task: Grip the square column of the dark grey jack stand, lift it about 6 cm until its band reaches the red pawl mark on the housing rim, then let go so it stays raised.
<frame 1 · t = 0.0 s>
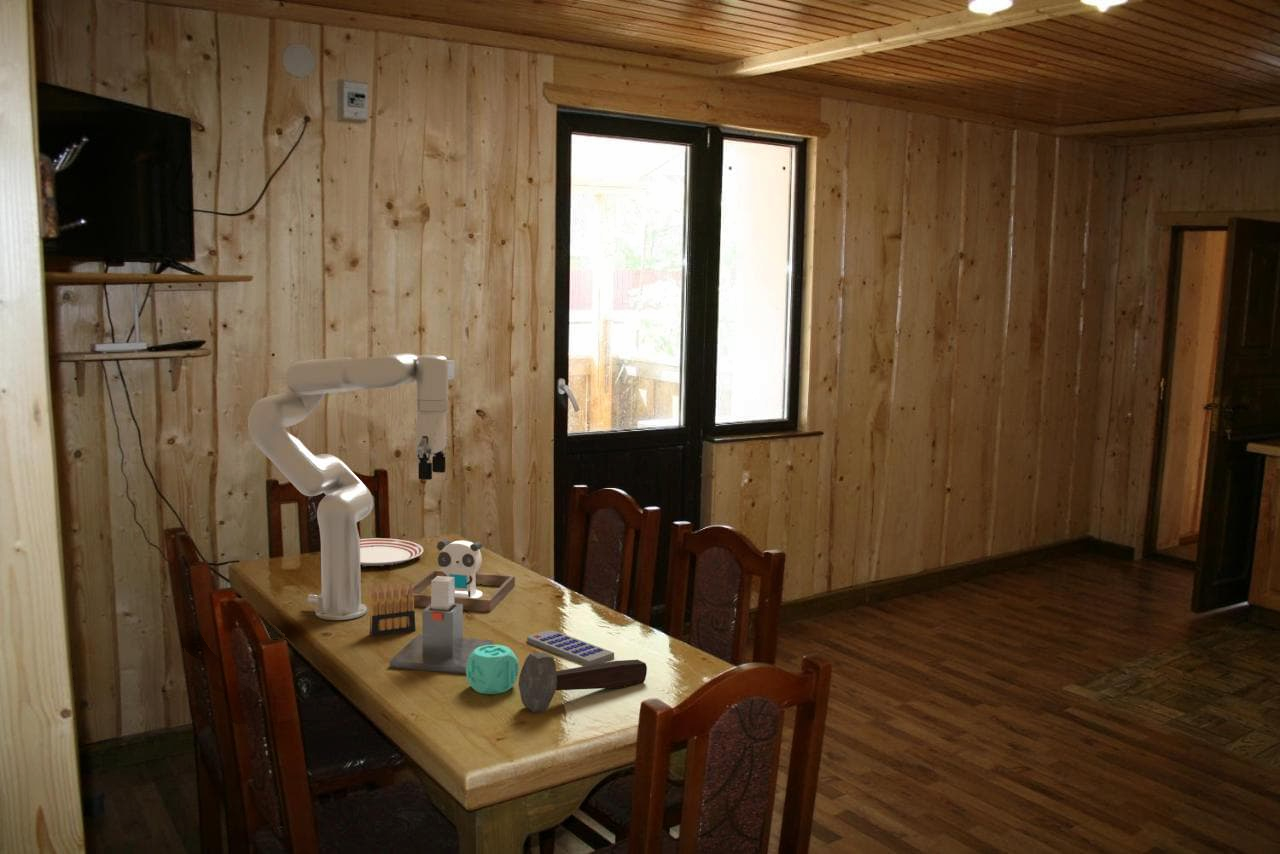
hand: (432, 475, 258), 37 cm above the table, tool pointing down, fingers open, 9 cm apart
hammer: (585, 697, 218), on the table
column: (442, 614, 237), point 10 cm above the table, slide at 0.0 cm
dinner plate: (377, 560, 319), on the table
ammunition clip: (392, 633, 253), on the table
panda figurine: (460, 595, 285), resting in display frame
remote control: (569, 652, 245), on the table
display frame: (460, 595, 285), on the table
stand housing: (442, 656, 238), on the table
decorative dice: (492, 688, 221), on the table
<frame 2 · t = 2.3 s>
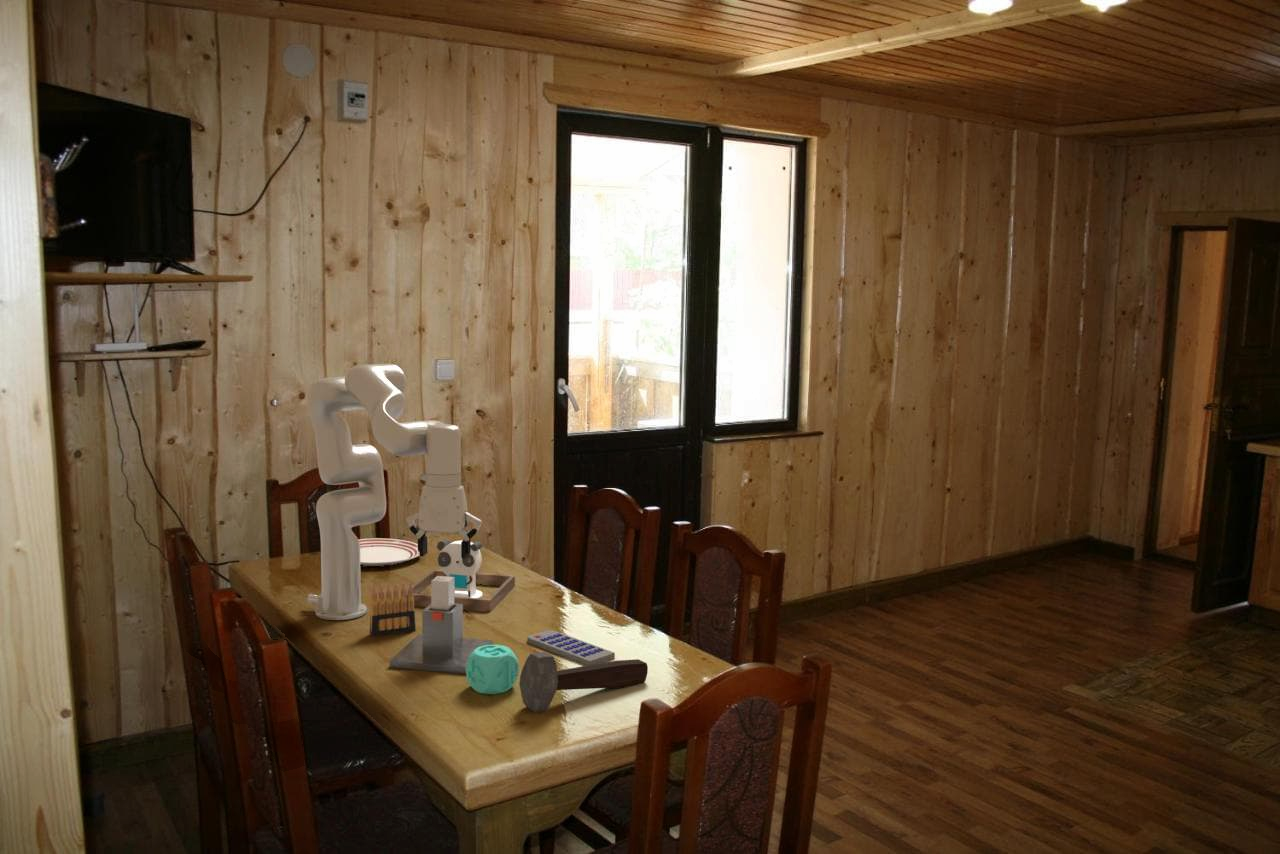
hand: (444, 556, 235), 23 cm above the table, tool pointing down, fingers open, 9 cm apart
nothing on the table moved.
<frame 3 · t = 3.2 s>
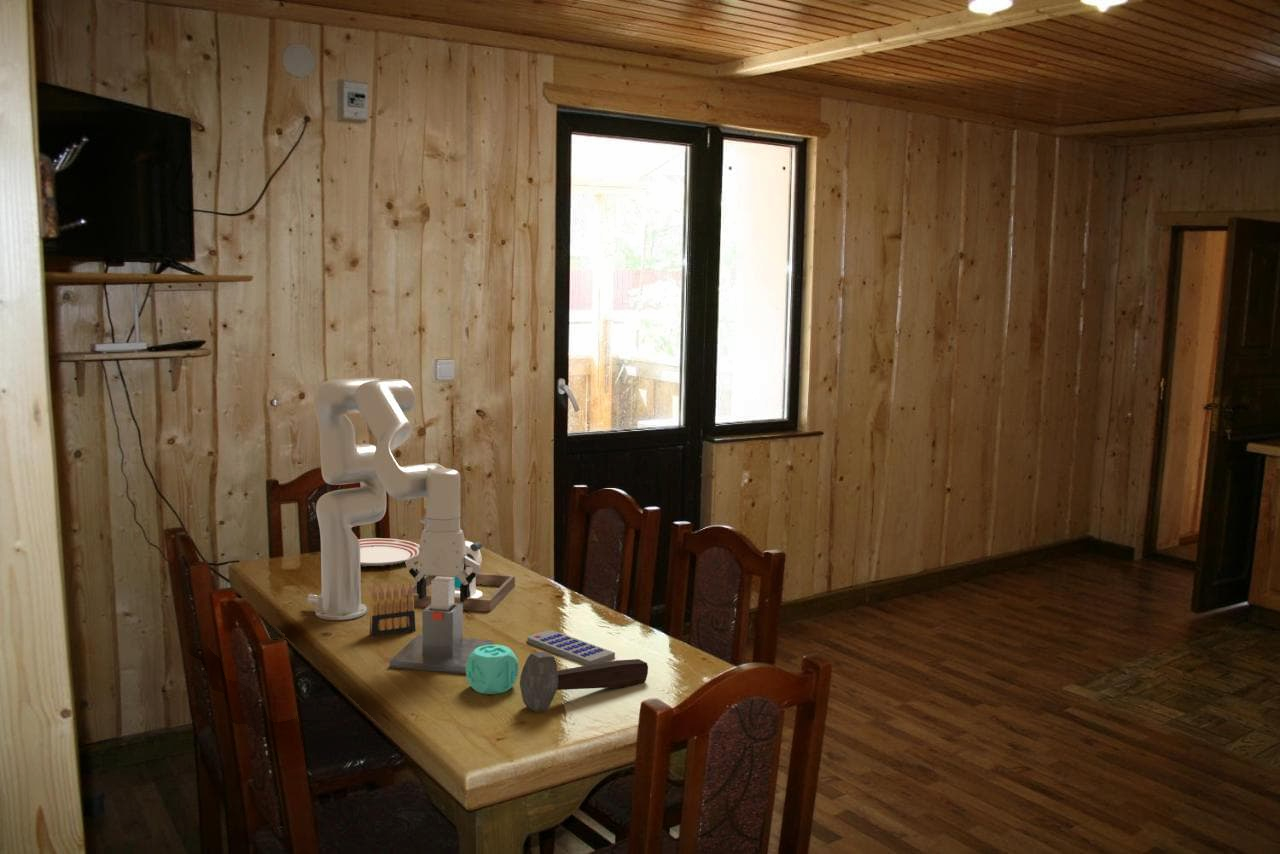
hand: (443, 599, 236), 13 cm above the table, tool pointing down, fingers open, 9 cm apart
nothing on the table moved.
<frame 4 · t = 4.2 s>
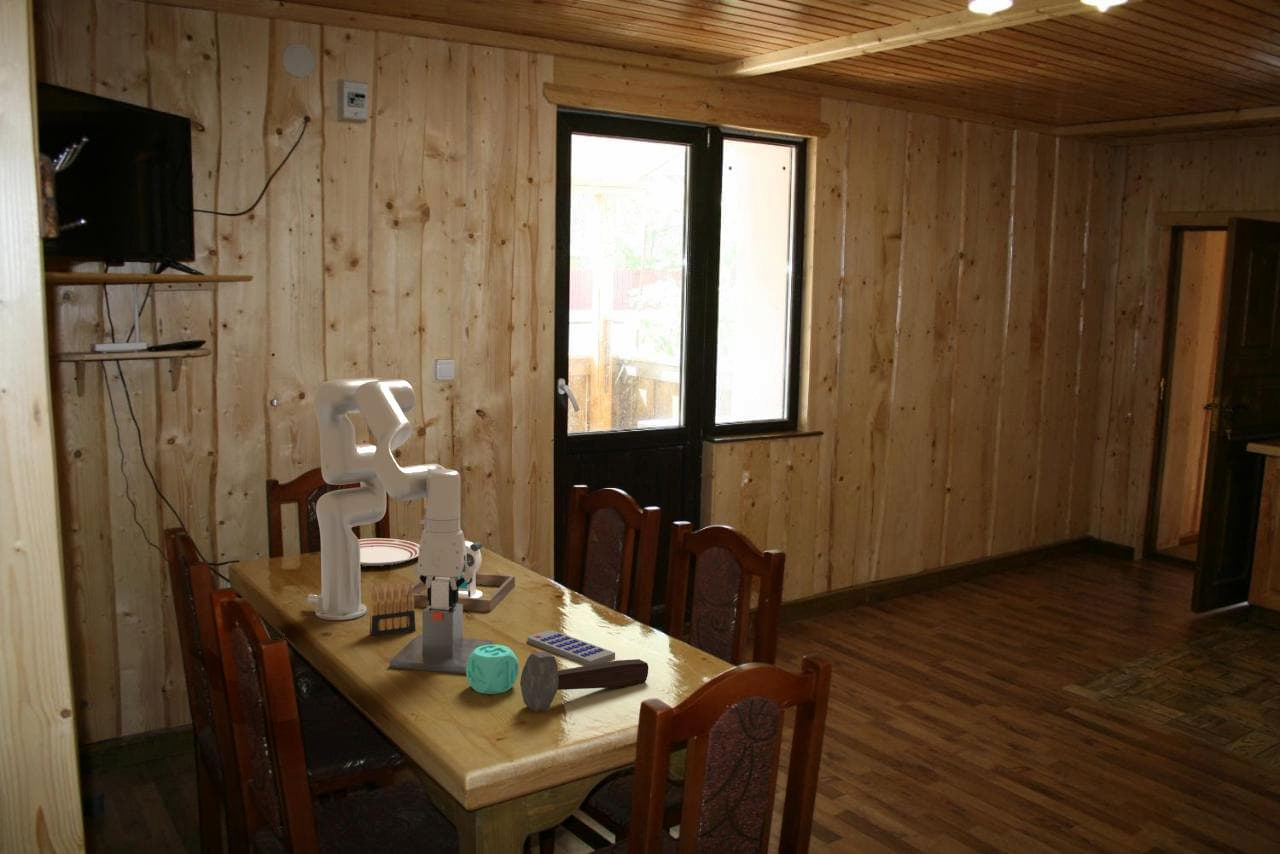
hand: (442, 603, 236), 12 cm above the table, tool pointing down, fingers closed on column, 4 cm apart
column: (442, 614, 237), point 10 cm above the table, slide at 0.0 cm, touching gripper
everything else where it was.
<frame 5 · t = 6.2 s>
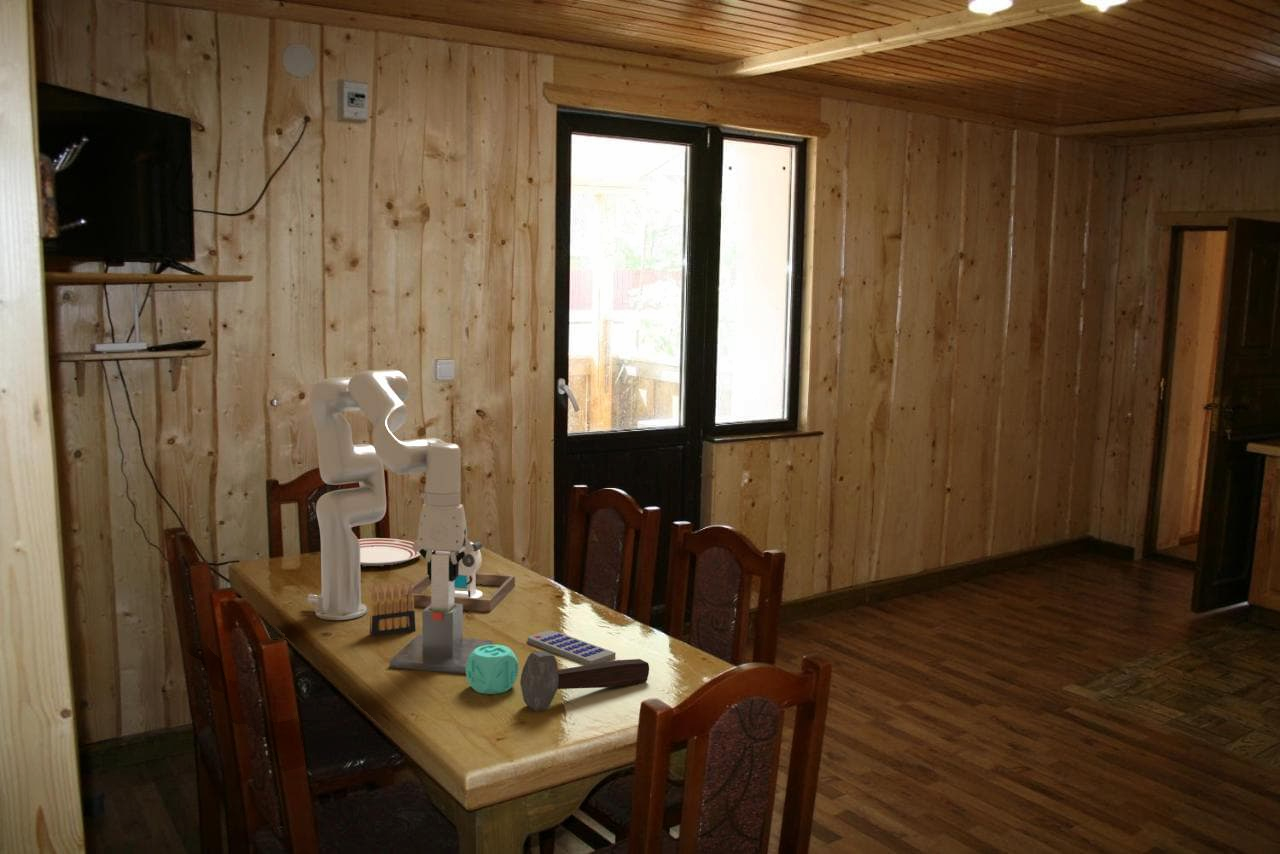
hand: (442, 578, 236), 18 cm above the table, tool pointing down, fingers closed on column, 4 cm apart
column: (442, 588, 236), point 16 cm above the table, slide at 5.9 cm, touching gripper
everything else where it was.
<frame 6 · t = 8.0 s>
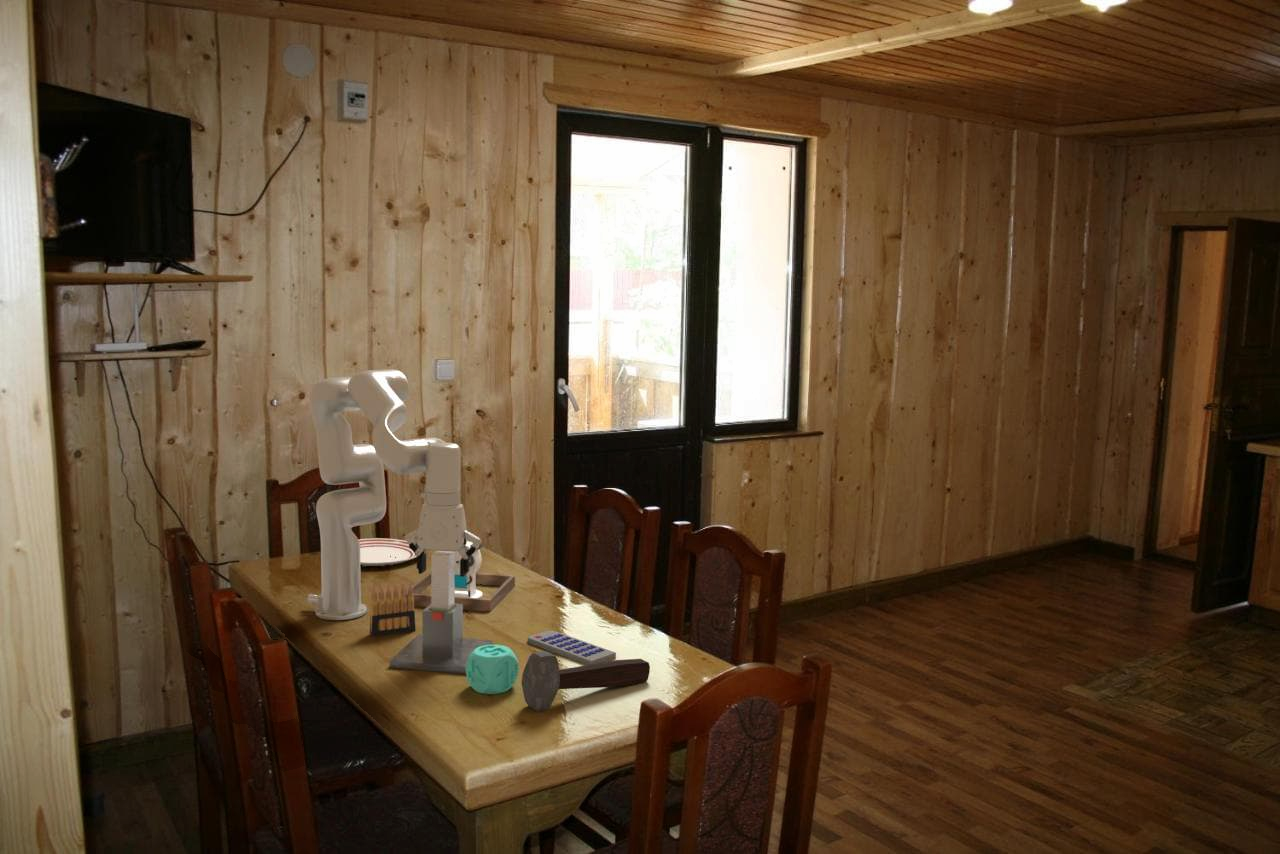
hand: (443, 573, 235), 19 cm above the table, tool pointing down, fingers open, 9 cm apart
column: (442, 588, 236), point 16 cm above the table, slide at 6.0 cm
everything else where it was.
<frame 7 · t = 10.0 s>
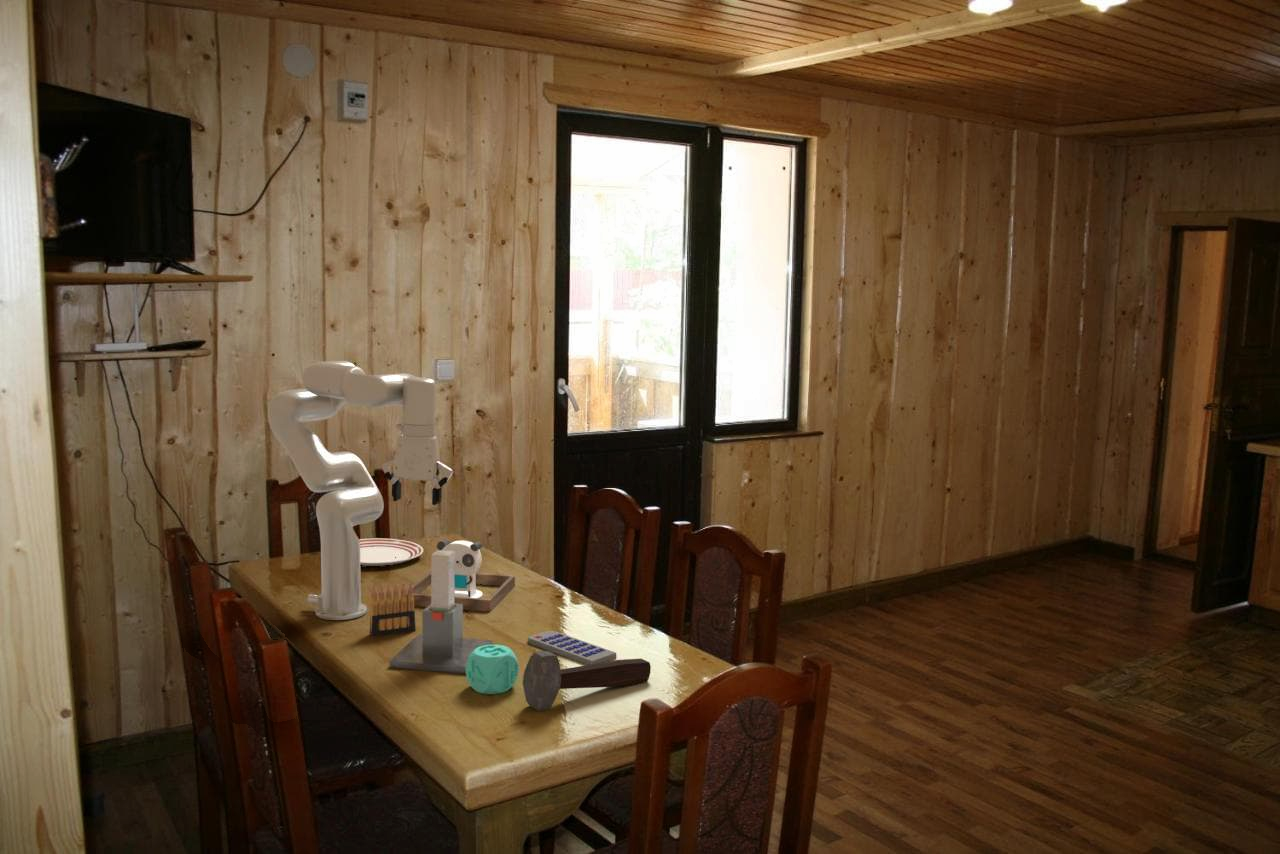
hand: (416, 501, 249), 32 cm above the table, tool pointing down, fingers open, 9 cm apart
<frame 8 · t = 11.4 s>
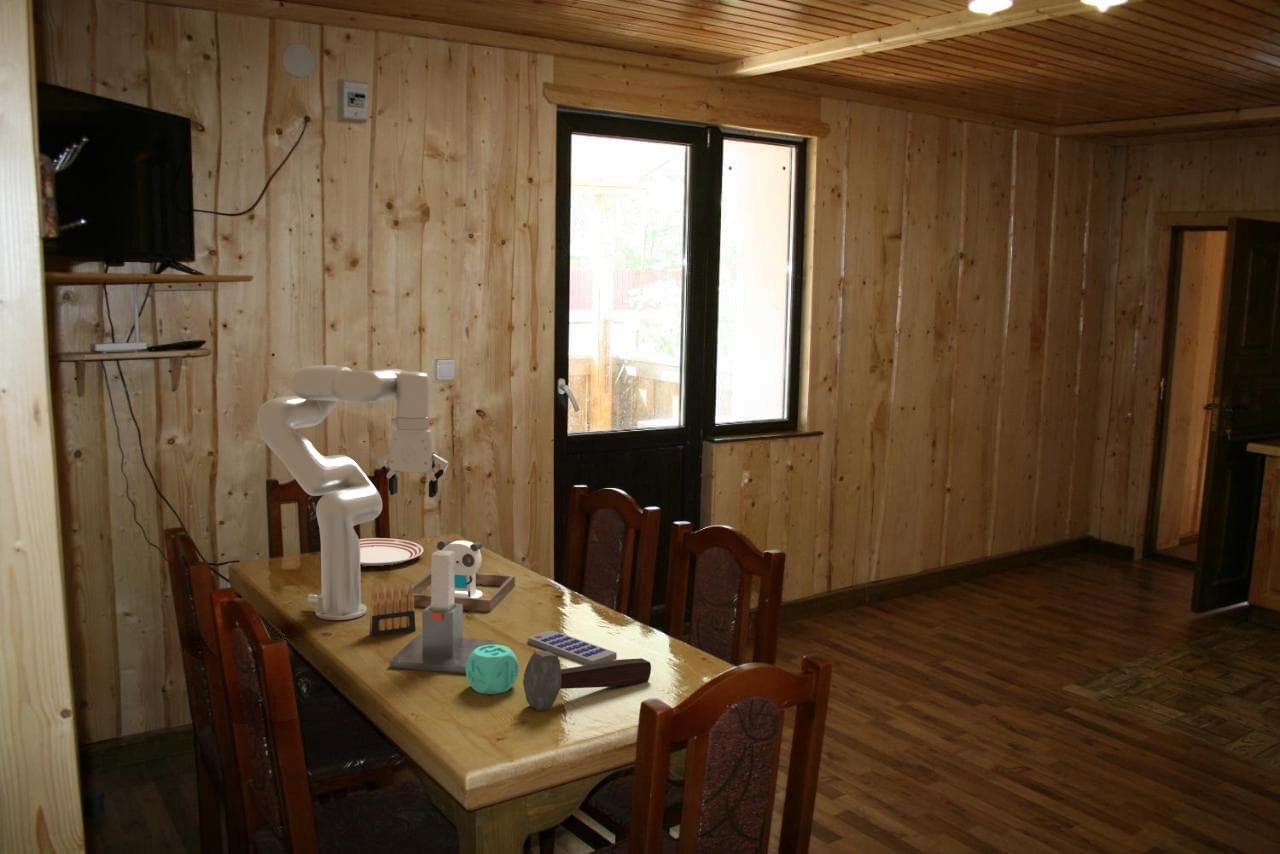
hand: (413, 495, 251), 33 cm above the table, tool pointing down, fingers open, 9 cm apart
at the end: column slide at 6.0 cm; the gripper is holding nothing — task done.
